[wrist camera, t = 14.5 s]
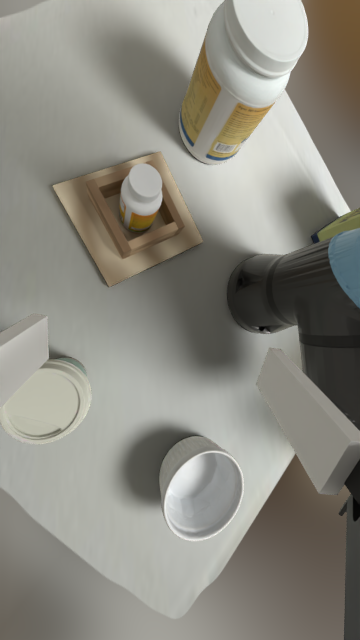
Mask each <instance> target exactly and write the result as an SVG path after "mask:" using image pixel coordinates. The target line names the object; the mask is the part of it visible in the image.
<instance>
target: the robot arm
mask: <svg viewBox="0 0 360 640" xmlns="http://www.w3.org/2000/svg"><path fill="white" fill-rule="evenodd" d="M227 299H228V304H229V308H230V311H231V313H232V315H233V317H234V318H235V320H236V321H237V322H238V323H239V324H240V325H241V326H242V327H243V328H245V329H246V330H248V331H250V332H254V333H261V334H271V333H276V332H279V331H281V330H284V329H286V328H289V327H292V326H294V325H298V331H299V341H300V350H301V360H302V369H303V372H302V371H301V370H300V368H299V367H298V366H297V365H296V364H295V363H294V362H293V361H292V360H291V359H290V358H289V357H288V356H287V355H286V354H285V353H284V352H283V351H282V350H281V349H276V348H269V350H268V352H267V355H266V358H265V361H264V364H263V366H262V369H261V372H260V375H259V378H258V380H257V383H256V385H257V386H258V388H259V390H260V392H261V393H262V395H263V397H264V399H265V400H266V402H267V404H268V406H269V407H270V409H271V411H272V413H273V414H274V416H275V418H276V420H277V421H278V423H279V425H280V427H281V428H282V430H283V432H284V434H285V435H286V437H287V439H288V440H289V442H290V444H291V446H292V447H293V449H294V451H295V453H296V454H297V456H298V458H299V460H300V461H301V463H302V465H303V467H304V468H305V470H306V472H307V474H308V475H309V477H310V479H311V481H312V482H313V484H314V486H315V488H316V489H317V491H318V493H319V494H329V495H338V493H339V492H340V490H341V489H342V487H343V486H344V484H345V485H346V487H347V488H348V489H349V491H350V492H351V495H350V496H349V497H348V499H347V500H346V502H345V503H344V505H343V506H342V508H341V509H340V511H339V515H341V516H342V515H343V514H344V513H345V512H347V532H346V533H347V534H346V535H347V536H346V576H345V577H346V578H345V620H344V622H345V623H344V640H360V228H357V229H354V230H349V231H343V232H341V233H339V234H337V235H335V236H334V237H331V238H328V239H326V240H323V241H321V242H318V243H315V244H313V245H310V246H307V247H305V248H302V249H299V250H297V251H294V252H291V253H289V254H286V255H273V254H261V255H257V256H254V257H251V258H249V259H247V260H245V261H243V262H242V263H240V264H239V265H238V266H237V267H236V269H235V270H234V271H233V273H232V275H231V277H230V280H229V283H228V289H227ZM48 359H49V345H48V319H47V316H45V315H38V314H32V315H30V316H28V317H26V318H25V319H23V320H21V321H19V322H18V323H16V324H14V325H13V326H11V327H9V328H7V329H6V330H4V331H2V332H0V408H1V407H2V406H3V405H4V404H5V403H6V402H7V401H8V400H9V399H10V398H11V397H12V396H13V395H14V394H15V392H16V391H17V390H18V389H19V388H20V387H21V386H22V385H23V384H24V383H25V382H26V381H27V380H28V379H29V378H30V377H31V376H32V375H33V374H34V373H35V372H36V371H37V370H38V369H39V368H40V367H41V366H42V365H43V364H44V363H45V362H46V361H47V360H48Z"/></svg>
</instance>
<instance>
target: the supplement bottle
mask: <svg viewBox="0 0 360 640" xmlns="http://www.w3.org/2000/svg"><path fill="white" fill-rule="evenodd" d="M161 188H162V179H161V176H160V174H159V172H158V171H157V170H156V169H155V168H154V167H152V166H151V165H148V164H144V163H141V164H137V165H135V166H133V167H132V169H131V170H130V172H129V175H128V176H127V177H126V178H125V179H124V181H123V183H122V187H121V195H120V205H119V218H120V221H121V223H122V224H123V226H124V227H125V228H126V229H128V230H129V231H131V232H134V233H143V232H145V231H147V230H148V229H149V228H150V227H151V226H152V224H153V222H154V219H155V217H156V215H157V212H158V210H159V208H160V206H161V203H162V190H161Z"/></svg>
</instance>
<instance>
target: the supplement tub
mask: <svg viewBox="0 0 360 640" xmlns="http://www.w3.org/2000/svg"><path fill="white" fill-rule="evenodd" d="M307 39H308V23H307V18H306V13H305V10H304V7H303V4H302V2H301V0H225V1H224V2H223V3H222V4H221V5H220V6H219V7H218V8H217V10H216V11H215V13H214V14H213V16H212V18H211V21H210V23H209V25H208V28H207V32H206V35H205V38H204V41H203V44H202V47H201V50H200V53H199V56H198V59H197V62H196V65H195V68H194V71H193V74H192V77H191V80H190V83H189V86H188V89H187V92H186V94H185V97H184V100H183V103H182V106H181V109H180V113H179V129H180V134H181V137H182V140H183V142H184V144H185V146H186V147H187V149H188V150H189V151H190V153H191V154H192V155H193V156H194V157H195V158H197V159H198V160H200V161H202V162H204V163H207V164H212V165H218V164H223V163H225V162H227V161H229V160H230V159H232V158H233V157H234V156H235V155H236V154H237V152H238V151H239V149H240V148H241V146H242V145H243V144H244V143H245V141H246V140H247V139H248V137H249V136H250V135H251V133H252V132H253V131H254V129H255V128H256V127H257V125H258V124H259V123H260V121H261V120H262V119H263V117H264V116H265V115H266V113H267V112H268V111H269V110H270V108H271V107H272V106H273V104H274V103H275V102H276V100H277V99H278V98H279V97H280V95H281V94H282V92H283V91H284V89H285V87H286V84H287V82H288V79H289V76H290V72H291V70H292V69H293V68H294V66H295V65H296V63H297V60H298V59H299V57H300V55H301V54H302V52H303V51H304V49H305V47H306V44H307Z"/></svg>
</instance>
